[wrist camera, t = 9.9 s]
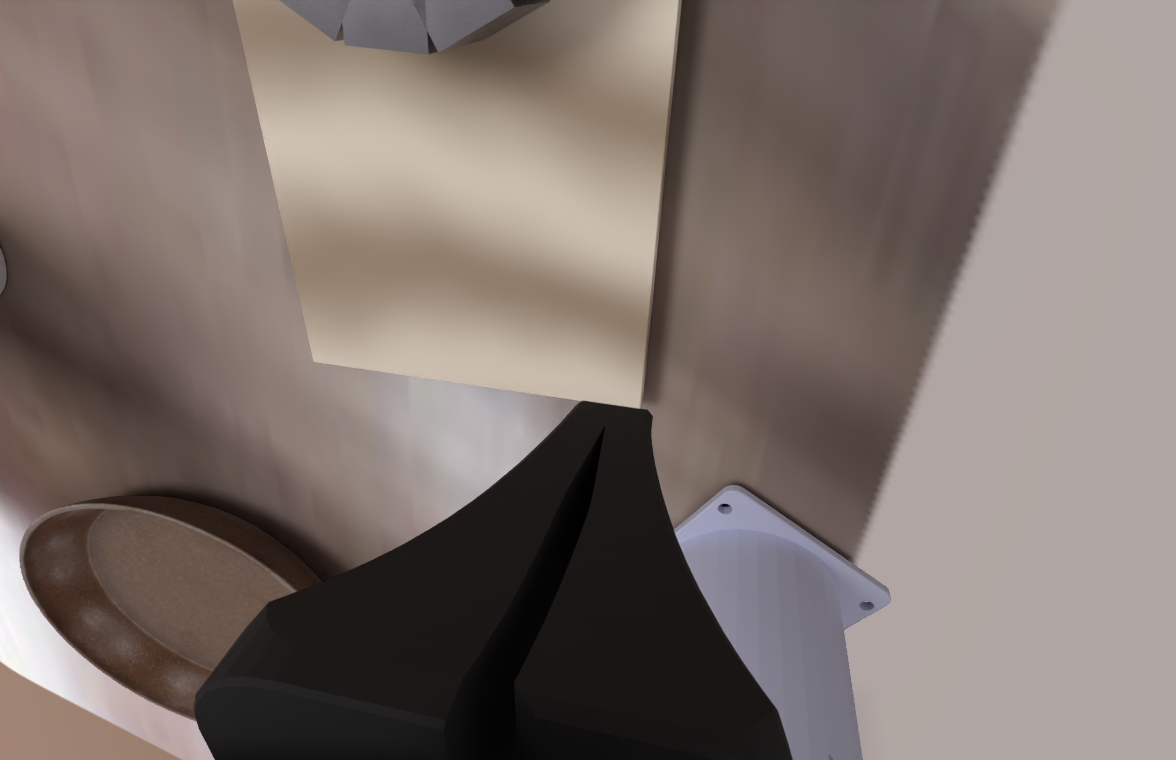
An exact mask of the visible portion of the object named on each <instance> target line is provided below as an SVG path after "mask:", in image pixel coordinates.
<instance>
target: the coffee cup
mask: <svg viewBox="0 0 1176 760" xmlns="http://www.w3.org/2000/svg"><path fill="white" fill-rule="evenodd" d="M6 280H7V271H6V264H5V259H4V255H3V253H2V250H1V248H0V294H1V293H2V291H3V290H4V288H5V284H6Z"/></svg>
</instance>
